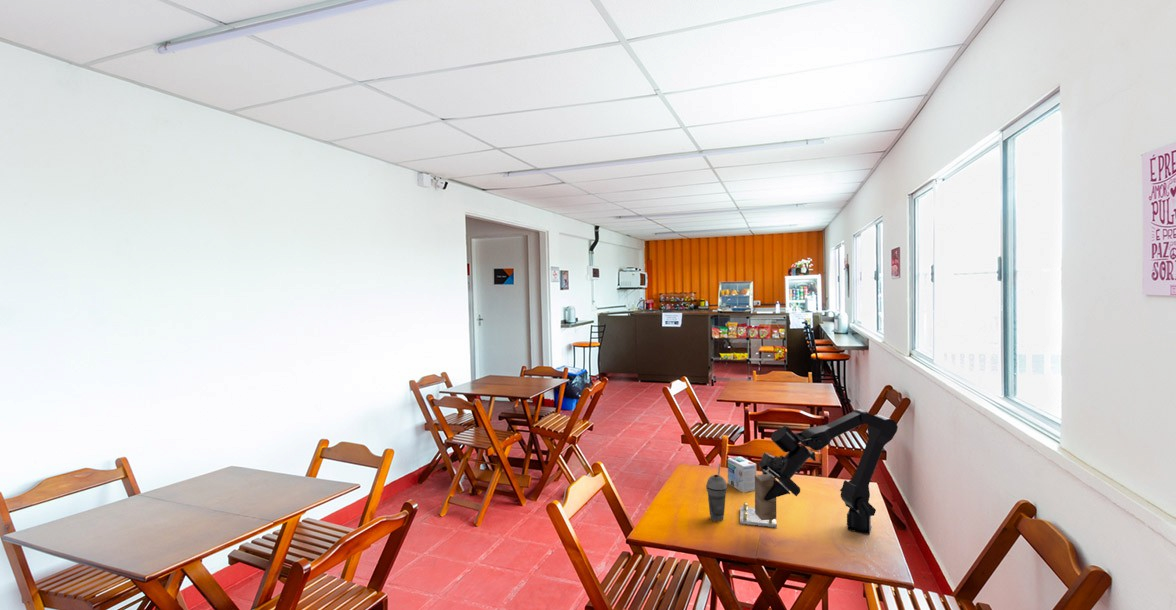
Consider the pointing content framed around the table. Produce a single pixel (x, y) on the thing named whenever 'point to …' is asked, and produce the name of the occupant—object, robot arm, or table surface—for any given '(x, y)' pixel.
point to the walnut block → (763, 507)
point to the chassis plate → (753, 517)
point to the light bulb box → (741, 474)
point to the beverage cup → (716, 496)
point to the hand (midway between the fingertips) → (761, 496)
